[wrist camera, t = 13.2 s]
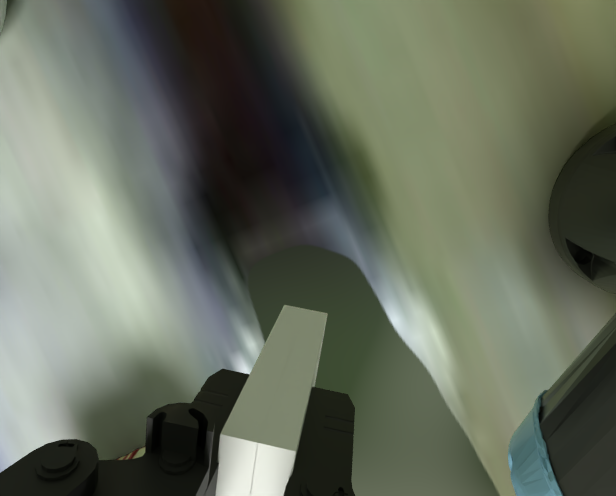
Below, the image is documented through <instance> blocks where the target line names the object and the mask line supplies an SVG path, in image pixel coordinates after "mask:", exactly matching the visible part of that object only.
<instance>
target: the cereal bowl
mask: <svg viewBox="0 0 616 496" xmlns="http://www.w3.org/2000/svg"><path fill="white" fill-rule="evenodd" d="M6 5H7V0H0V34H1V31H2V28H3V25H4V21H5V15H6Z"/></svg>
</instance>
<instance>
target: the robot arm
mask: <svg viewBox="0 0 616 496" xmlns="http://www.w3.org/2000/svg"><path fill="white" fill-rule="evenodd" d="M549 228H550V233H551V237H552V240H553V243H554V245H555V247H556V249H557V251H558V253H559V254H560V256H561V258H562V259H563V260H564V261H565V263H566V264H567V265H568V266H569V267H570V268H571V269H572V270H573V271H575V272H576V273H577V274H578V275H580V276H581V277H583V278H585V279H586V280H588V281H589V282H591V283H592V284H594V285H596V286H597V287H599V288H601V289H603V290H606V291H608V292H611V293H614V294H616V124H615V125H612V126H610V127H608V128H607V129H605V130H603V131H601V132H600V133H598V134H597V135H595V136H594V137H592V138H591V139H590V140H589V141H587V142H586V143H585V144H584V145H583V146H582V147H581V148H579V149H578V150H577V152H576V153H575V154H574V155H573V156H572V157H571V158H570V160H569V161H568V162H567V164H566V165H565V166H564V168H563V170H562V171H561V173H560V175H559V177H558V179H557V181H556V183H555V186H554V189H553V191H552V195H551V199H550V204H549ZM326 319H327V313H322V312H318V311H312V310H308V309H302V308H297V307H292V306H287V305H284V307H283V309H282V311H281V313H280V315H279V317H278V319H277V321H276V323H275V325H274V327H273V329H272V331H271V333H270V335H269V337H268V339H267V341H266V343H265V345H264V347H263V349H262V351H261V353H260V355H259V357H258V359H257V361H256V363H255V365H254V367H253V369H252V371H251V373H250V375H249V374H244V373H240V372H235V371H231V370H226V369H221V370H220V371H218V372H216V373H215V374H213V375H212V376H210V377H209V378H208V379H207V381H206V382H205V384H204V385H203V387H202V388H201V391H200V392H199V393H198V394H197V396H196V397H195V399H194V402H192V403H191V404H190V403H175V404H168V405H166V406H163V407H161V408H159V409H156V410H155V411H154V412H153V413H151V414H150V415H149V416H148V417H147V428H146V445H145V453H144V455H143V456H141V457H138V458H134V459H126V460H101V461H98V455H97V451H96V449H95V448H94V447H93V446H92V445H91V444H89V443H88V442H84V441H81V440H77V439H71V440H59V441H55V442H52V443H48V444H46V445H44V446H42V447H40V448H38V449H36V450H34V451H32V452H31V453H29V454H28V455H26V456H25V457H23V458H22V459H20V460H19V461H17V462H16V463H14V464H13V465H11V466H10V467H8V468H7V469H5V470H4V471H2V472H1V473H0V496H355V494H354V492H353V489H352V483H351V475H352V456H353V434H354V415H355V407H354V405H353V403H352V401H351V400H350V398H349V396H348V394H344V393H339V392H334V391H330V390H325V389H320V388H316V387H314V385H315V381H316V375H317V370H318V364H319V358H320V353H321V347H322V342H323V336H324V330H325V325H326ZM508 461H509V467H510V470H511V480H512V484H513V487H514V490H515V493H516V495H517V496H616V313H615V315H614V316H613V317H612V318H611V319H610V320H609V321H608V323H607V324H606V325H605V326H604V327H603V328H602V329H601V331H600V332H599V333H598V334H597V335H596V336H595V337H594V339H593V340H592V341H591V342H590V343H589V344H588V345H587V347H586V348H585V349H584V350H583V351H582V352H581V353H580V355H579V356H578V357H577V358H576V359H575V360H574V361H573V363H572V364H571V365H570V366H569V367H568V368H567V369H566V371H565V372H564V373H563V374H562V375H561V376H560V377H559V379H558V380H557V381H556V382H555V383H554V384H553V385H552V387H551V388H550V389H549V390H545V391H543V392H542V393H541V394H540V395H539V396H538V398H537V399H536V401H535V404H534V407H533V409H532V410H531V411H530V413H529V414H528V415H527V417H526V418H525V419H524V421H523V422H522V423H521V425H520V426H519V427H518V429H517V430H516V431H515V432H514V434H513V436H512V438H511V441H510V444H509V449H508Z"/></svg>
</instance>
